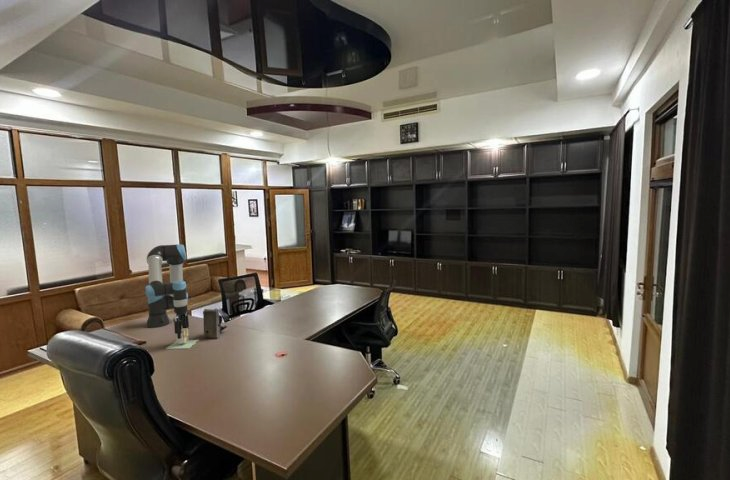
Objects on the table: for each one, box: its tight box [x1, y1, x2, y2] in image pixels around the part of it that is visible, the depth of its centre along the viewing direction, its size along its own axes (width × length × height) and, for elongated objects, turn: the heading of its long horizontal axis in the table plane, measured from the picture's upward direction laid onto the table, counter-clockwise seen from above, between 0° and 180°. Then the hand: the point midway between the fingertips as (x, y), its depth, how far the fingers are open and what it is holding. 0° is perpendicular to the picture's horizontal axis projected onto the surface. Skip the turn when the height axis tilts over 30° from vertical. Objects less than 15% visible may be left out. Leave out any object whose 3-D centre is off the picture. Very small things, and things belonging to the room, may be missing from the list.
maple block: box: [175, 328, 190, 344], centre depth 217 cm, size 5×5×8 cm
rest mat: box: [165, 339, 200, 350], centre depth 218 cm, size 14×14×1 cm
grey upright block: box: [202, 308, 228, 339], centre depth 234 cm, size 10×16×20 cm, turn 174°
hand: (182, 341), depth 218 cm, fingers closed on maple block, 5 cm apart
